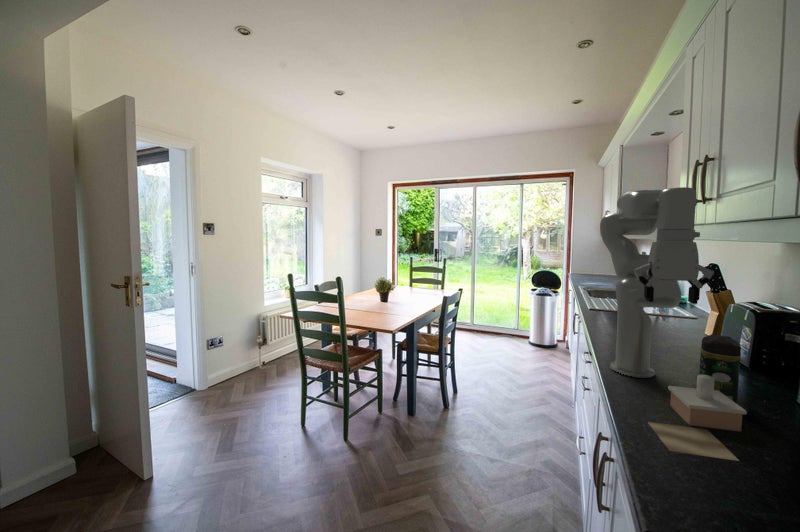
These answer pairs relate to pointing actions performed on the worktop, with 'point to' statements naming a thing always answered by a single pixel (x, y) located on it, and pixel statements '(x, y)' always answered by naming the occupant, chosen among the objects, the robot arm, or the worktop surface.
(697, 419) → the dish
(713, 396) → the lid
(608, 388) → the worktop surface
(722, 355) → the coffee jar
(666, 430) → the mat
